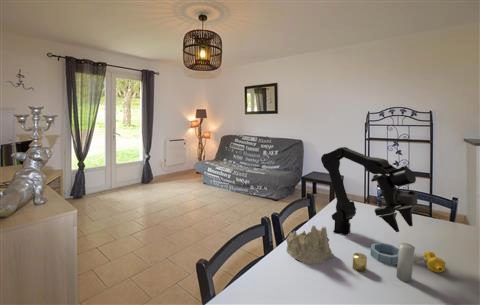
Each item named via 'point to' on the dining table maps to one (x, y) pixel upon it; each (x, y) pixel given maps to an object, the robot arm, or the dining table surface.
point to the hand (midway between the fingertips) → (404, 229)
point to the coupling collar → (383, 257)
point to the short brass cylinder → (359, 262)
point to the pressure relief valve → (431, 261)
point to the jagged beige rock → (309, 246)
